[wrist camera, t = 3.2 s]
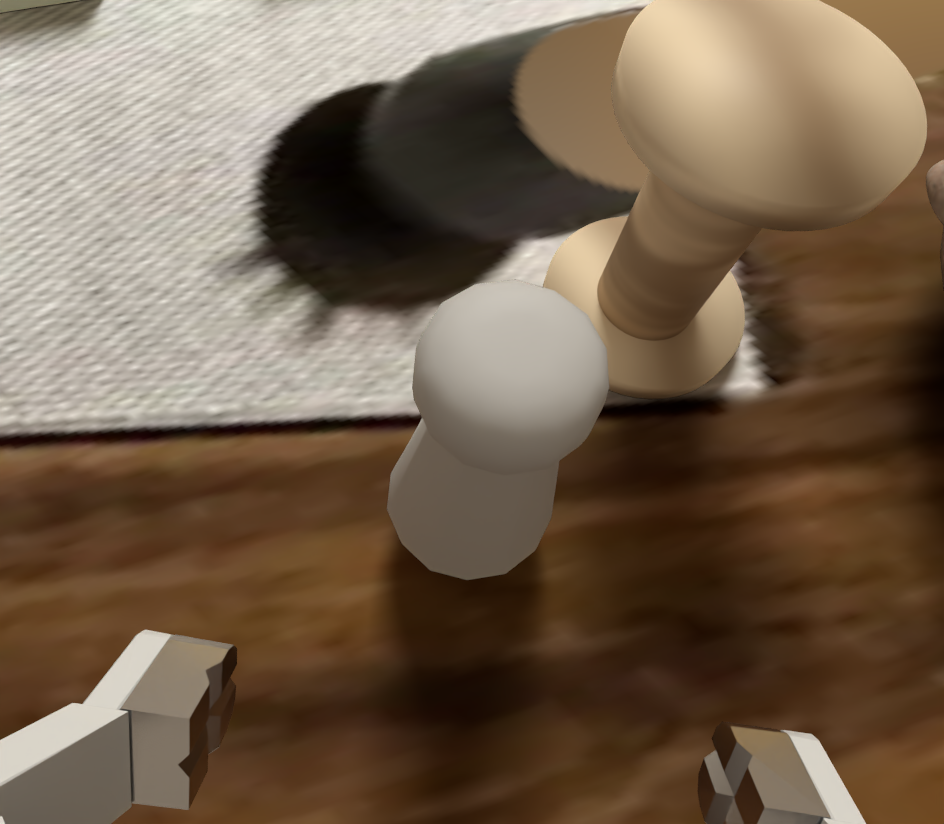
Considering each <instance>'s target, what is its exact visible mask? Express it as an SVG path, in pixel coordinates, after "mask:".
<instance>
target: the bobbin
mask: <svg viewBox="0 0 944 824" xmlns="http://www.w3.org/2000/svg"><path fill="white" fill-rule="evenodd" d="M611 87H612V102H613V107H614V112H615V116H616V118H617V121H618V124H619V127H620V129H621V131H622V133H623V135H624V137H625V138H626V140H627V142H628V144H629V145H630V147H631V148H632V149H633V151H634V152H635V153H636V154H637V156H638V157H639V159H640V160H641V161H642V162H643V163H644V164H645V165H646V166H647V167H648V168H649V170H650V171H649V173H648V176H647V177H646V180H645V182H644V184H643V186H642V188H641V190H640V193H639V195H638V197H637V199H636V201H635V203H634V206H633V208H632V210H631V212H630V214H629V216H628V217H615V218H609V219H604V220H600V221H597V222H594V223H591V224H589V225H587V226H585V227H583V228H581V229H579V230H578V231H576V232H575V233H574V234H572V235H571V236H570V237H569V238H568V239H566V240H565V241H564V242H563V243H562V245H561V246H560V247H559V249H558V250H557V251H556V253H555V255H554V257H553V258H552V260H551V263H550V266H549V269H548V272H547V275H546V278H545V281H544V284H543V287H544V288H547V289H551V290H554V291H556V292H557V293H559V294H560V295H561V296H563V297H564V298H566V299H567V300H568V301H570V302H571V303H572V304H574V305H575V306H576V307H578V308H579V309H581V310H582V311H583V312H585V313H586V314H587V315H588V316H589V318H590V320H591V322H592V324H593V325H594V327H595V329H596V331H597V332H598V334H599V336H600V338H601V340H602V341H603V343H604V345H605V347H606V349H607V361H608V375H609V390H610V391H613V392H616V393H619V394H622V395H626V396H630V397H635V398H644V399H664V398H671V397H677V396H680V395H684V394H687V393H689V392H691V391H694V390H696V389H698V388H700V387H701V386H703V385H704V384H706V383H708V382H709V381H710V380H711V379H712V378H713V377H714V376H715V375H716V374H717V373H718V372H719V371H720V370H721V369H722V368H723V367H724V366H725V365H726V364H727V363H728V362H729V360H730V359H731V358H732V357H733V355H734V354H735V352H736V350H737V348H738V347H739V344H740V341H741V339H742V336H743V331H744V325H745V311H744V303H743V299H742V295H741V292H740V289H739V287H738V285H737V282H736V280H735V278H734V277H733V275H732V273H731V271H730V269H731V268H732V267H733V266H734V264H735V263H736V262H737V260H738V259H739V258H740V256H741V255H742V254H743V252H744V251H745V250H746V248H747V247H748V246H749V244H750V243H751V242H752V240H753V239H754V238H755V236H756V235H757V234H758V233H759V231H760V230H761V229H762V228H765V229H774V230H782V231H813V230H822V229H828V228H832V227H836V226H841V225H844V224H846V223H849V222H852V221H854V220H857V219H859V218H861V217H862V216H864V215H866V214H867V213H869V212H871V211H872V210H873V209H875V208H876V207H877V206H878V205H879V204H880V203H882V202H883V201H884V200H885V199H886V198H887V197H888V196H889V195H890V193H891V192H892V191H893V190H894V189H895V188H896V187H897V186H898V185H899V184H900V183H901V182H902V181H903V180H904V179H905V178H906V177H907V176H908V175H909V173H910V172H911V171H912V170H913V168H914V167H915V166H916V164H917V163H918V161H919V159H920V157H921V155H922V153H923V149H924V145H925V142H926V136H927V120H926V112H925V107H924V104H923V101H922V97H921V95H920V93H919V90H918V88H917V86H916V84H915V82H914V80H913V79H912V77H911V75H910V74H909V72H908V71H907V69H906V68H905V66H904V65H903V64H902V62H901V61H900V60H899V59H898V57H897V56H896V55H895V54H894V53H893V52H892V51H891V50H890V49H889V48H888V47H887V46H886V45H885V44H884V43H883V42H882V41H881V40H880V39H879V38H878V37H877V36H875V35H874V34H873V33H872V32H871V31H869V30H868V29H867V28H865V27H864V26H862V25H861V24H859V23H858V22H857V21H855V20H854V19H852V18H851V17H849V16H847V15H846V14H844V13H842V12H841V11H839V10H837V9H835V8H833V7H831V6H829V5H827V4H825V3H823V2H821V1H818V0H654V1H653V2H652V3H650V4H649V5H648V6H647V7H645V8H644V9H643V10H642V11H641V12H640V13H639V15H638V16H637V17H636V18H635V19H634V21H633V23H632V24H631V26H630V27H629V29H628V32H627V34H626V37H625V40H624V42H623V45H622V48H621V52H620V54H619V57H618V61H617V64H616V67H615V69H614V73H613V79H612V85H611Z"/></svg>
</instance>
